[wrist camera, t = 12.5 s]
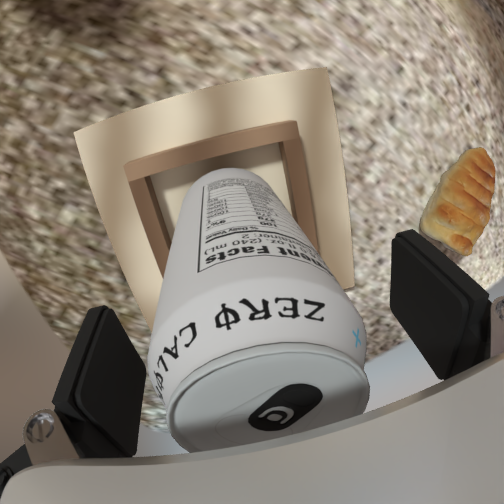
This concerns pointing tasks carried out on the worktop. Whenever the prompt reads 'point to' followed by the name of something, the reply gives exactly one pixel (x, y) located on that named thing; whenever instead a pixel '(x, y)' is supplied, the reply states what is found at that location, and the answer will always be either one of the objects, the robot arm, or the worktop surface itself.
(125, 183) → the board
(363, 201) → the worktop surface
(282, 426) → the energy drink can
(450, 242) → the pastry
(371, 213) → the worktop surface
